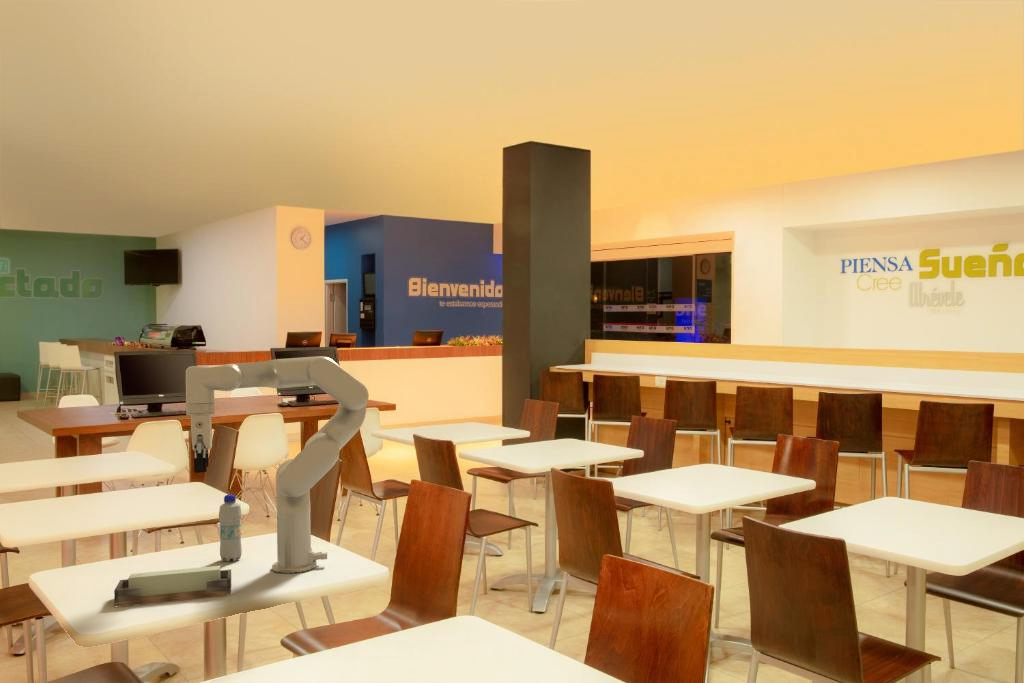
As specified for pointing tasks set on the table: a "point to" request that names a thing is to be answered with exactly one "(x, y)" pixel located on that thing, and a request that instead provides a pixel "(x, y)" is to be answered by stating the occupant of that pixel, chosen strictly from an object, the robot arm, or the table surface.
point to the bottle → (230, 529)
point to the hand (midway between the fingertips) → (201, 469)
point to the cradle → (132, 595)
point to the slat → (173, 580)
